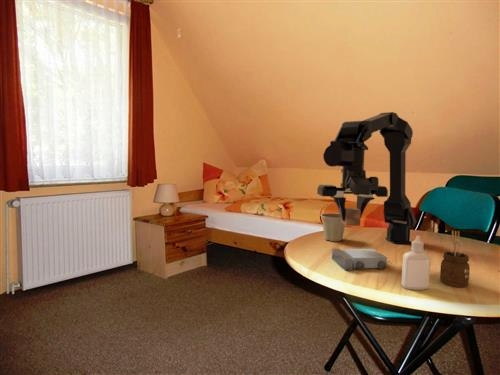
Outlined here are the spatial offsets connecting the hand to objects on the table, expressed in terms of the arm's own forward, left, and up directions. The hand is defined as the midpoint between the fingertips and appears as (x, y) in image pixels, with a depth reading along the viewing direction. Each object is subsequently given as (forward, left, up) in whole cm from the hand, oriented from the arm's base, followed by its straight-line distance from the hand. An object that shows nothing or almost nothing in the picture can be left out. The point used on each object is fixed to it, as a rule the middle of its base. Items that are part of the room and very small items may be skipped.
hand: (350, 220), depth 100 cm
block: (0, 0, -1) cm, 1 cm away
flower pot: (-3, -22, -11) cm, 25 cm away
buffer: (+4, +5, -11) cm, 13 cm away
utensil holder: (-18, +20, -11) cm, 29 cm away
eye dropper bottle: (-7, +22, -11) cm, 26 cm away
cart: (-2, +5, -11) cm, 12 cm away
